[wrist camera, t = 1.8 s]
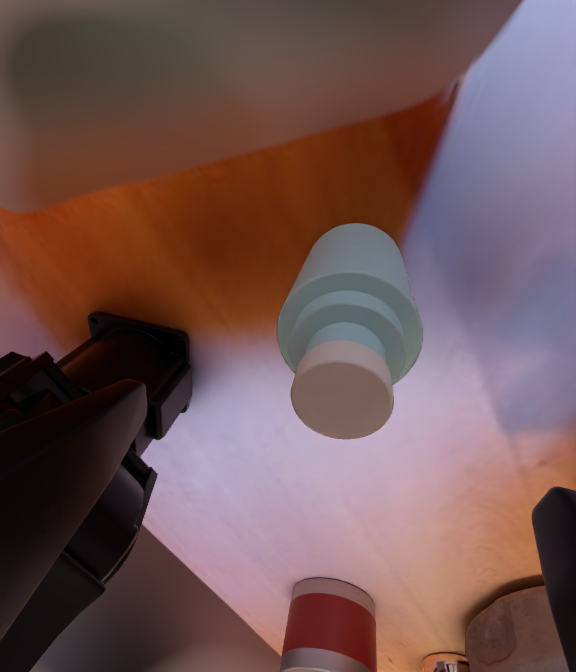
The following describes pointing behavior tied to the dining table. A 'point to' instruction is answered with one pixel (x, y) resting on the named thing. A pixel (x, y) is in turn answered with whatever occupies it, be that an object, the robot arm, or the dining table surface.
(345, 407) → the aqua bottle
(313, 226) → the dining table surface
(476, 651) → the pottery
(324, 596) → the tin
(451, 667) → the beer glass
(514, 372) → the dining table surface
